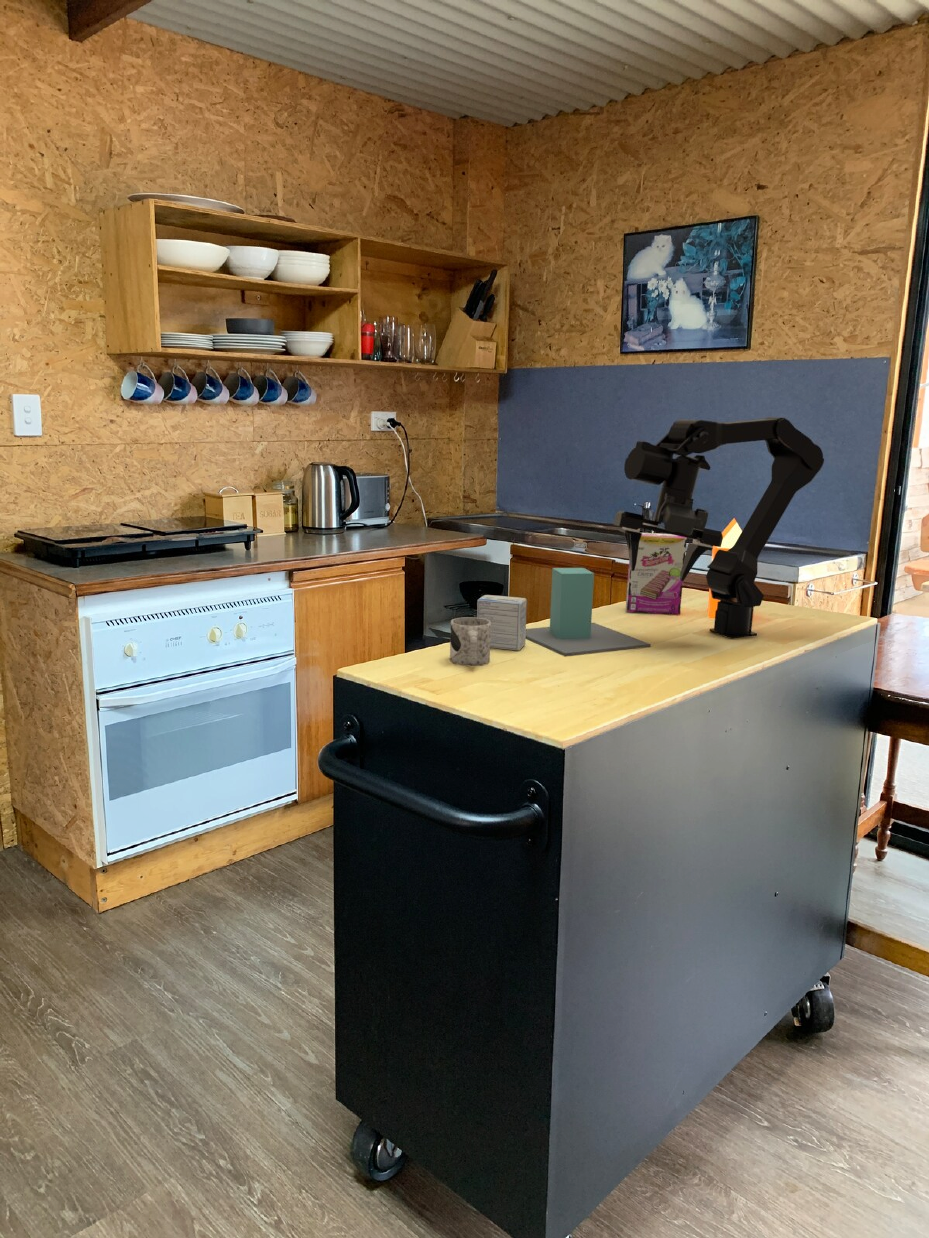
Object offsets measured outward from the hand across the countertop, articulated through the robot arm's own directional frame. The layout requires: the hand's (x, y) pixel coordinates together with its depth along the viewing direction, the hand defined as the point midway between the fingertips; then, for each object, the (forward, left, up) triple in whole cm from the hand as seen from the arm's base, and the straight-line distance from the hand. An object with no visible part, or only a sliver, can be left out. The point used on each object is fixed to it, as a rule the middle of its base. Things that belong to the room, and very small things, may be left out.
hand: (656, 575), depth 168 cm
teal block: (+13, -8, -12) cm, 19 cm away
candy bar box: (-16, -21, -12) cm, 29 cm away
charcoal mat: (+12, -6, -12) cm, 18 cm away
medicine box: (+28, -7, -12) cm, 31 cm away
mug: (+38, +1, -12) cm, 40 cm away
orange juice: (-29, -13, -12) cm, 34 cm away
